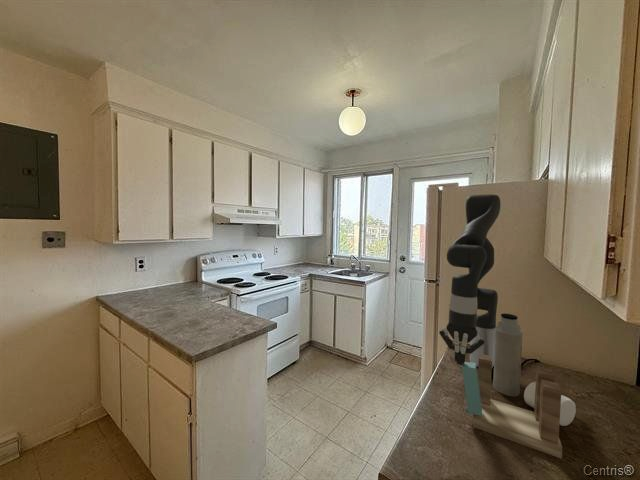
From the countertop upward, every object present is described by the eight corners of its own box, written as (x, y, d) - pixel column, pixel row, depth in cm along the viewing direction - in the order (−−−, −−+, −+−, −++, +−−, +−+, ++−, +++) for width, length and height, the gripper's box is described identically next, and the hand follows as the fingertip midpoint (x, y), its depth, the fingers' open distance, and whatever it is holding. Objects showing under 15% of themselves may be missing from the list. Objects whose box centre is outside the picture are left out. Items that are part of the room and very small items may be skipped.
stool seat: (474, 402, 90) (476, 352, 89) (551, 427, 79) (554, 369, 78) (472, 426, 79) (475, 369, 78) (561, 458, 68) (565, 392, 68)
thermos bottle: (519, 388, 98) (523, 314, 97) (519, 399, 92) (523, 320, 91) (493, 380, 103) (497, 310, 102) (492, 390, 97) (495, 315, 95)
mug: (556, 428, 79) (558, 402, 78) (522, 406, 88) (524, 383, 88) (584, 421, 82) (586, 396, 82) (549, 400, 92) (550, 378, 91)
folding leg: (467, 406, 84) (461, 361, 84) (482, 409, 81) (475, 363, 82) (466, 413, 80) (460, 366, 81) (481, 416, 78) (475, 368, 79)
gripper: (488, 310, 81) (484, 365, 82) (441, 302, 88) (438, 352, 89) (488, 317, 75) (484, 376, 76) (437, 307, 82) (434, 362, 83)
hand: (459, 363), depth 83 cm, fingers closed
